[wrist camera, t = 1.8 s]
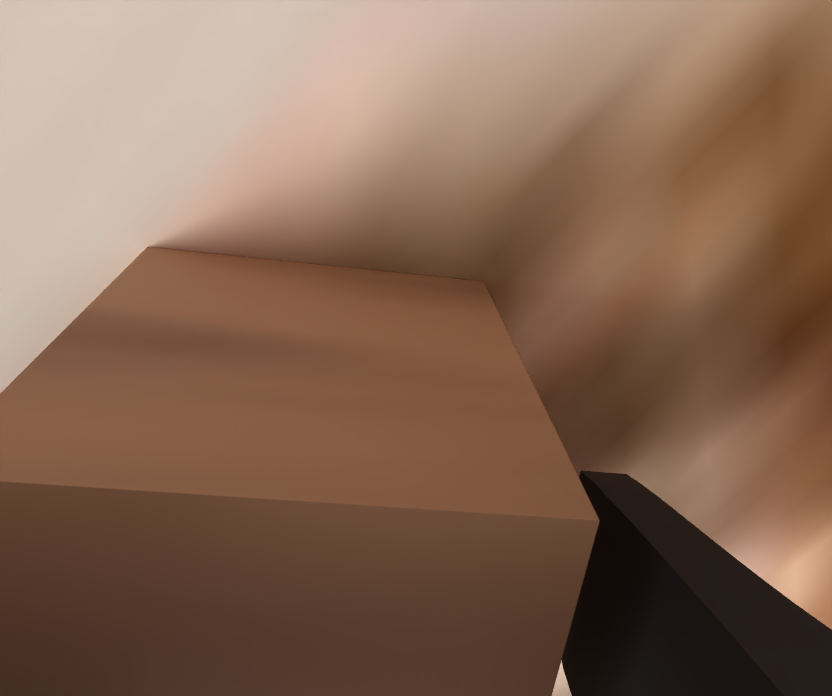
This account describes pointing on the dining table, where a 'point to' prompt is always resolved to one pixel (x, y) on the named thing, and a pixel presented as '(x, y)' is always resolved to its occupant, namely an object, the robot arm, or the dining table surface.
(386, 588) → the walnut block
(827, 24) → the dining table surface
